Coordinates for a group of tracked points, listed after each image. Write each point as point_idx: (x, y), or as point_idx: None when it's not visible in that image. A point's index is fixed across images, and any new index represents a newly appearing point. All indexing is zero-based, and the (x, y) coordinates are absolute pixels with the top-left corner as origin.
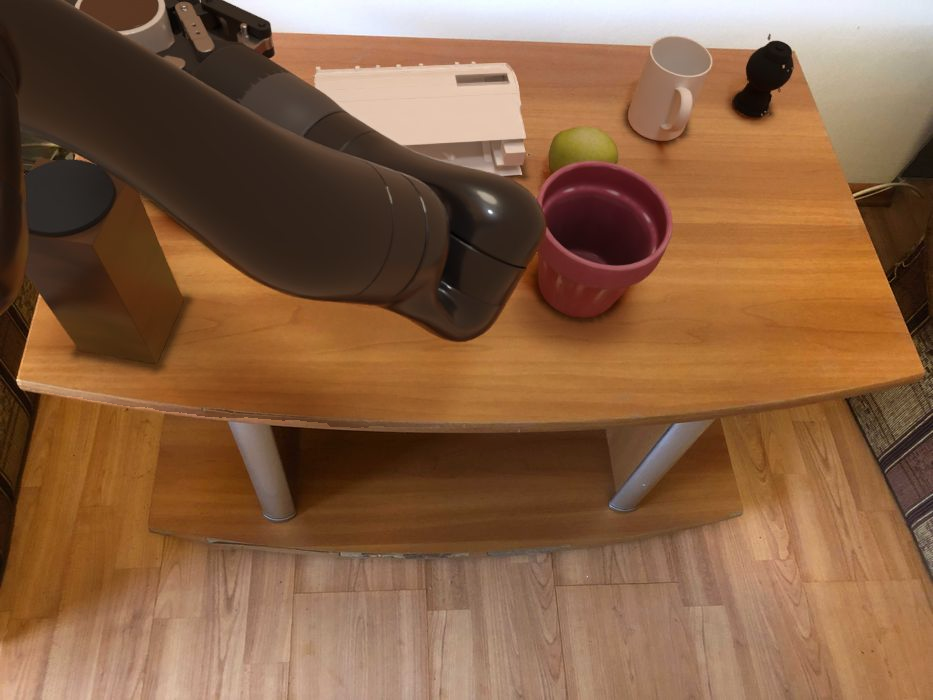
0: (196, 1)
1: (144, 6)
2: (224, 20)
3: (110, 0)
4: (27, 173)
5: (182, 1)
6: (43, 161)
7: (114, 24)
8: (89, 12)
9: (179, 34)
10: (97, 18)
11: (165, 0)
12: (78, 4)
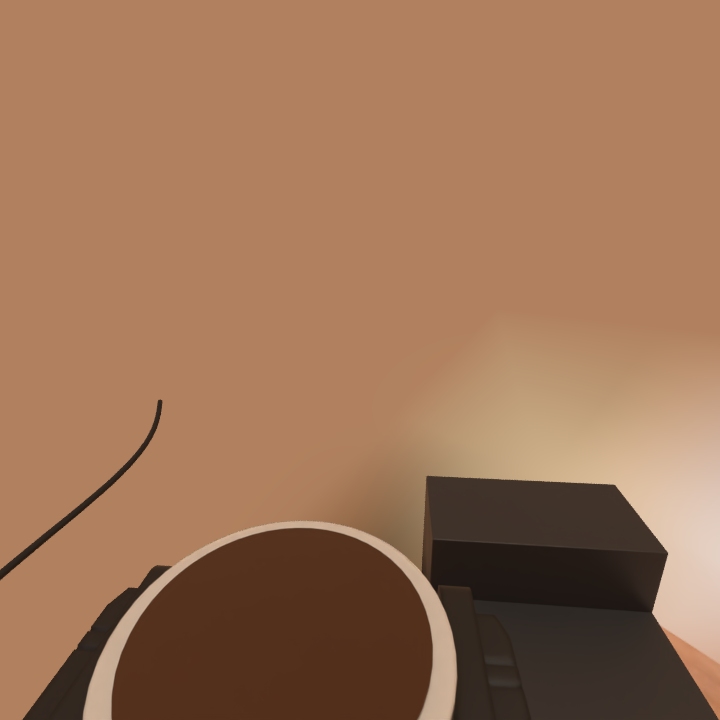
0: (644, 608)
1: (338, 710)
2: (688, 683)
3: (293, 586)
4: None
5: (617, 595)
6: None
7: (154, 705)
8: (203, 583)
9: (577, 646)
10: (176, 624)
11: (480, 710)
12: (231, 539)
